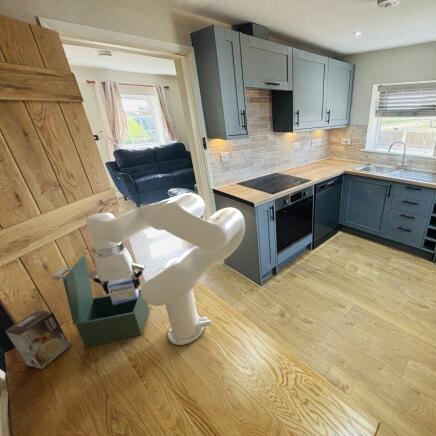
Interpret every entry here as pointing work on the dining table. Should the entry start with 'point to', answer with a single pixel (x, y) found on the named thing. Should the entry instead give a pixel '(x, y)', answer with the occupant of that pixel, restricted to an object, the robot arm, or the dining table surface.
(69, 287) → the box lid
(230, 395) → the dining table surface
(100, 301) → the green box
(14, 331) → the coffee box
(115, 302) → the medicine box
